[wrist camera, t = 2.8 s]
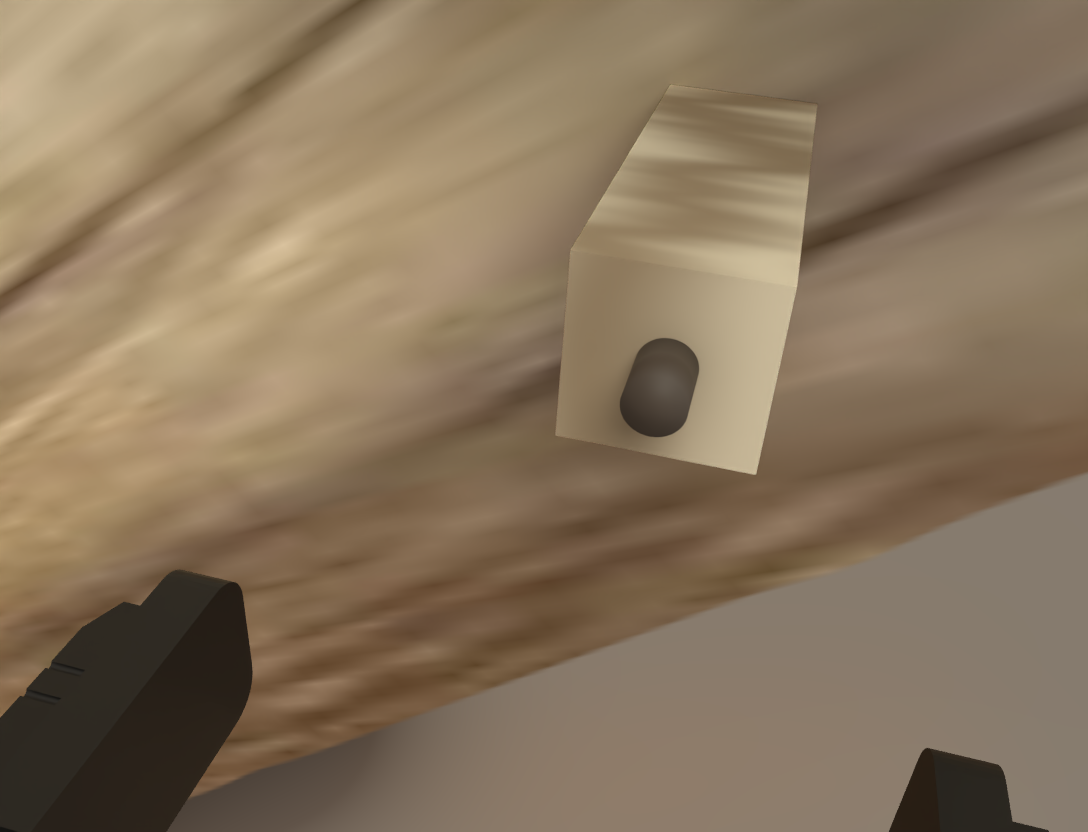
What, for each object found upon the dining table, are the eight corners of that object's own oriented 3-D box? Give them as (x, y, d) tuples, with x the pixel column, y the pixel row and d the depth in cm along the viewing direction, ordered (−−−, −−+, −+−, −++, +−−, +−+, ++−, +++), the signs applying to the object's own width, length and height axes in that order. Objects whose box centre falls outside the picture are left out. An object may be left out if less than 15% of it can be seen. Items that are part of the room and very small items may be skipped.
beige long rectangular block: (817, 103, 27) (792, 325, 16) (788, 242, 29) (749, 521, 18) (670, 84, 28) (549, 284, 17) (653, 220, 30) (536, 477, 19)
